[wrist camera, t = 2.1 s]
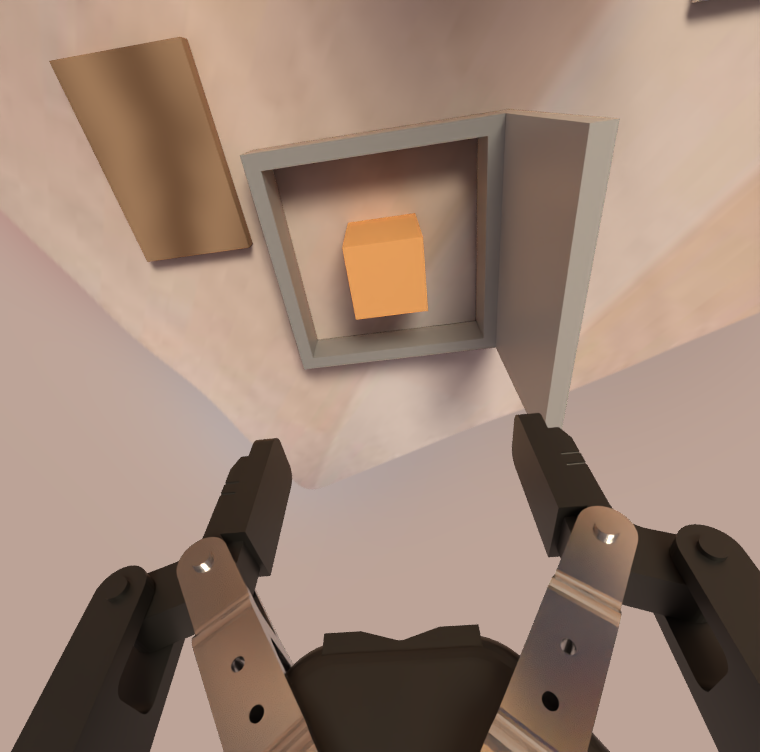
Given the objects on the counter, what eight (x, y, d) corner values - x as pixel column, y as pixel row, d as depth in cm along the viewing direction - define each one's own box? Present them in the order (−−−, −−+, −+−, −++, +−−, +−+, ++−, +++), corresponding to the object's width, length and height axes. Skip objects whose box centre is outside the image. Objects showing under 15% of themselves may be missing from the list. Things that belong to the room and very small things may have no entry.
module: (359, 285, 32) (355, 319, 27) (348, 222, 29) (342, 247, 24) (420, 277, 32) (428, 310, 27) (415, 213, 29) (422, 236, 24)
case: (309, 350, 35) (276, 470, 24) (252, 150, 26) (156, 190, 15) (498, 328, 34) (559, 443, 23) (509, 109, 25) (619, 118, 14)
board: (153, 257, 30) (147, 261, 30) (60, 62, 24) (49, 61, 23) (252, 243, 30) (249, 247, 29) (186, 38, 23) (180, 36, 22)
